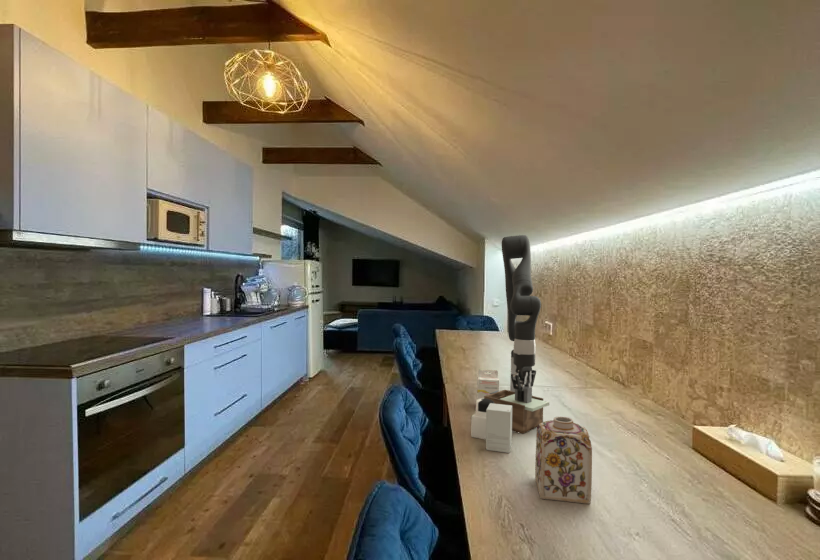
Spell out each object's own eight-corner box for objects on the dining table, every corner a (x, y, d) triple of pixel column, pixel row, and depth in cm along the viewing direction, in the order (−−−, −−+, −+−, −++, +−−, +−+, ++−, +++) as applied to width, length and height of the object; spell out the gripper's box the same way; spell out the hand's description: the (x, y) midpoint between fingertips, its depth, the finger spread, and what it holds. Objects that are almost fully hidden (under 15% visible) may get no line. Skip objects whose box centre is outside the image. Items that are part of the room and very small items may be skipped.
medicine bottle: (497, 434, 147) (498, 398, 147) (492, 441, 141) (492, 404, 140) (476, 430, 150) (477, 395, 150) (470, 437, 144) (471, 400, 143)
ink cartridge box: (477, 408, 176) (477, 371, 176) (476, 404, 181) (477, 369, 181) (498, 409, 175) (499, 372, 175) (497, 405, 180) (498, 369, 180)
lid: (514, 396, 164) (514, 380, 164) (549, 405, 154) (549, 388, 154) (497, 402, 156) (497, 385, 156) (532, 411, 146) (533, 393, 146)
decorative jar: (591, 505, 102) (593, 428, 102) (540, 500, 104) (541, 424, 104) (581, 482, 113) (582, 413, 113) (534, 477, 115) (536, 409, 115)
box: (504, 414, 169) (505, 389, 169) (542, 424, 157) (543, 398, 157) (483, 422, 159) (484, 396, 159) (522, 433, 147) (523, 406, 147)
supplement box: (512, 444, 138) (513, 405, 138) (509, 453, 131) (510, 411, 131) (488, 441, 140) (489, 402, 140) (485, 450, 133) (486, 408, 133)
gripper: (525, 348, 163) (524, 394, 163) (504, 352, 153) (503, 401, 153) (543, 351, 157) (542, 398, 157) (523, 355, 147) (522, 406, 147)
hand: (523, 399), depth 155 cm, fingers closed on lid, 3 cm apart
